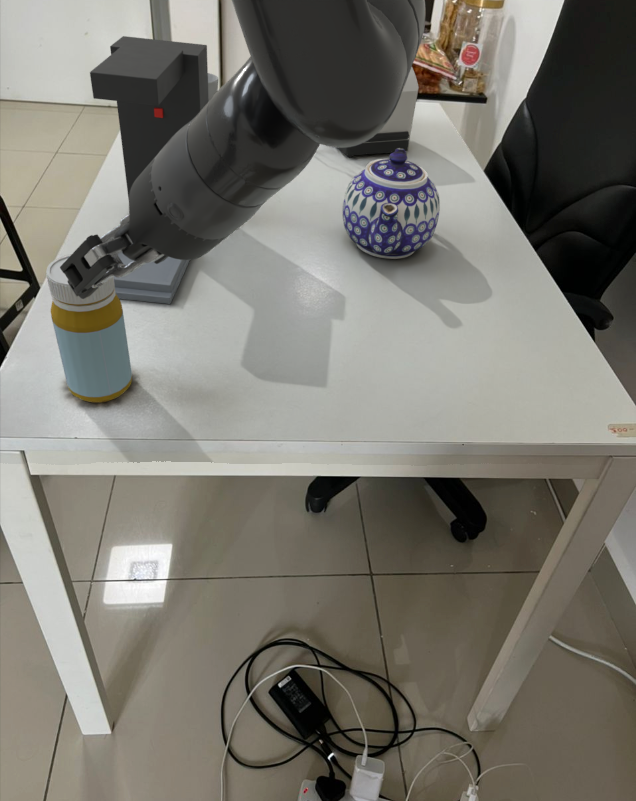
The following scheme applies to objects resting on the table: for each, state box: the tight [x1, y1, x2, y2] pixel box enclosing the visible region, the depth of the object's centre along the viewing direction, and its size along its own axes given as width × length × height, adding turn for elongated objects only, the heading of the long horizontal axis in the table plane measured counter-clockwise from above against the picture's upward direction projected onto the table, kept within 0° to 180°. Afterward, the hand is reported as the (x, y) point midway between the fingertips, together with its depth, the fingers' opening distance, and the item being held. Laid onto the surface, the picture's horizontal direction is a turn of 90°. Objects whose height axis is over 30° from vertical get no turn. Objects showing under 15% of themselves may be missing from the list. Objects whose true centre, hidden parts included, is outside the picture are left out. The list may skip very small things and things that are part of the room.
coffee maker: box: [89, 35, 209, 305], centre depth 89 cm, size 29×12×26 cm, turn 176°
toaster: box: [338, 66, 419, 158], centre depth 132 cm, size 23×25×17 cm
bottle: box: [45, 253, 133, 403], centre depth 68 cm, size 7×7×15 cm
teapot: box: [342, 148, 441, 260], centre depth 99 cm, size 25×15×15 cm, turn 167°
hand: (116, 270), depth 59 cm, fingers open, 8 cm apart
